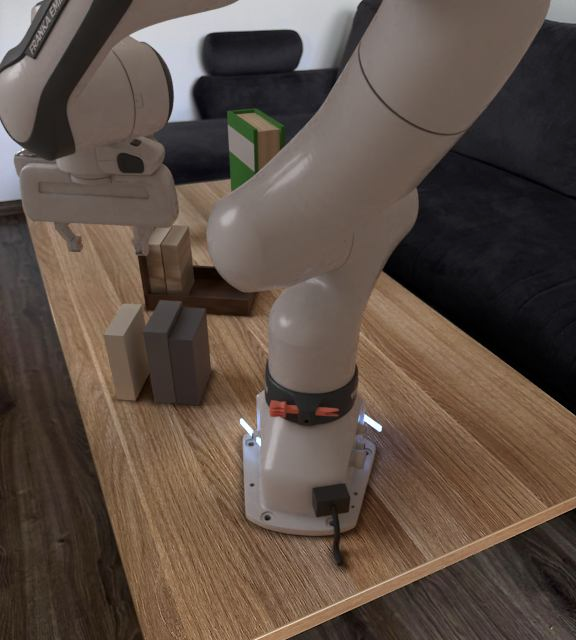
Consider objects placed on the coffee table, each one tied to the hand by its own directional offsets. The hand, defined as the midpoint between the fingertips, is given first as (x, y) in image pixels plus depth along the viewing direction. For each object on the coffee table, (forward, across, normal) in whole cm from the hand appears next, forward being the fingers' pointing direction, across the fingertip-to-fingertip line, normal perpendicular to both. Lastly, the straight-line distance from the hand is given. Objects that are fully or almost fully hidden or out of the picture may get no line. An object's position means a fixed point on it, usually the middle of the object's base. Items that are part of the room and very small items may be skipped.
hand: (109, 252), depth 82 cm
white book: (+22, +1, -1) cm, 22 cm away
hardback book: (+23, +13, +68) cm, 73 cm away
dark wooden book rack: (+22, +7, +28) cm, 37 cm away
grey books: (+22, +9, -1) cm, 24 cm away
